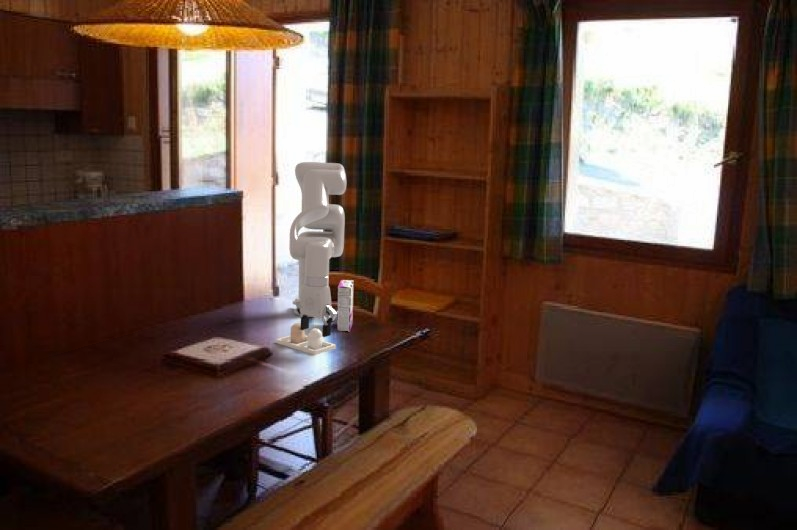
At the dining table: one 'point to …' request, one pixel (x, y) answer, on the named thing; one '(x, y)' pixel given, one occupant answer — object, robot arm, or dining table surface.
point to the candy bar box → (345, 305)
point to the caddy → (302, 345)
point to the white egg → (315, 339)
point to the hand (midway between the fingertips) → (315, 332)
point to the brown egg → (297, 334)
